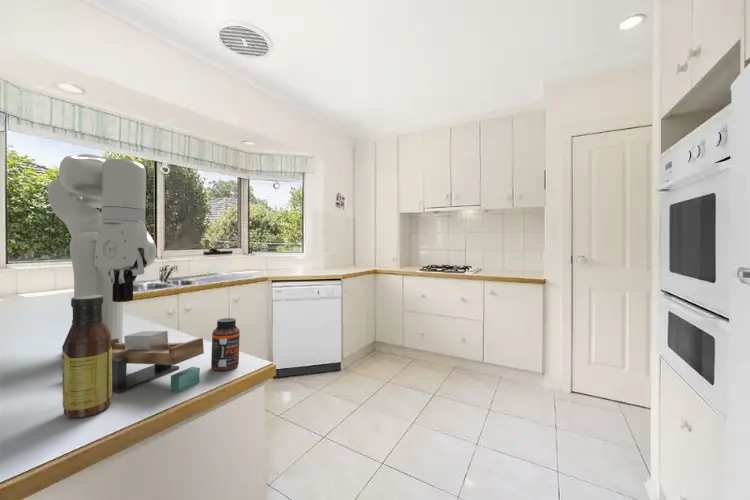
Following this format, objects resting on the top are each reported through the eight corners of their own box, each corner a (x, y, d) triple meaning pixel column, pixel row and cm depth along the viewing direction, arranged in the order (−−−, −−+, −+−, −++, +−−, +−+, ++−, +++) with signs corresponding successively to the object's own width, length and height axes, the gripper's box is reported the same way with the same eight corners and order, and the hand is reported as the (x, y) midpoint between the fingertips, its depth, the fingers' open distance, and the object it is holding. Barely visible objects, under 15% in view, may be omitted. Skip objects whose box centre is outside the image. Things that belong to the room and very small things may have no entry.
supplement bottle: (227, 373, 71) (229, 323, 71) (205, 370, 72) (206, 321, 72) (244, 363, 77) (245, 317, 76) (222, 361, 78) (223, 316, 78)
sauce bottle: (84, 401, 56) (86, 292, 56) (120, 401, 57) (122, 293, 57) (49, 422, 50) (51, 298, 50) (91, 421, 50) (93, 299, 50)
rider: (125, 355, 66) (124, 335, 66) (144, 349, 69) (143, 331, 69) (150, 355, 64) (149, 335, 64) (168, 349, 67) (167, 330, 68)
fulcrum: (61, 381, 64) (61, 353, 64) (126, 360, 77) (127, 336, 77) (159, 401, 57) (159, 370, 57) (214, 374, 70) (214, 348, 70)
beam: (79, 374, 67) (77, 347, 67) (117, 361, 74) (116, 338, 74) (173, 378, 60) (171, 348, 60) (206, 363, 67) (204, 337, 67)
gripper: (80, 216, 67) (78, 301, 67) (131, 214, 63) (130, 306, 63) (117, 219, 74) (116, 296, 74) (166, 218, 70) (165, 300, 70)
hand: (122, 300), depth 68 cm, fingers closed
